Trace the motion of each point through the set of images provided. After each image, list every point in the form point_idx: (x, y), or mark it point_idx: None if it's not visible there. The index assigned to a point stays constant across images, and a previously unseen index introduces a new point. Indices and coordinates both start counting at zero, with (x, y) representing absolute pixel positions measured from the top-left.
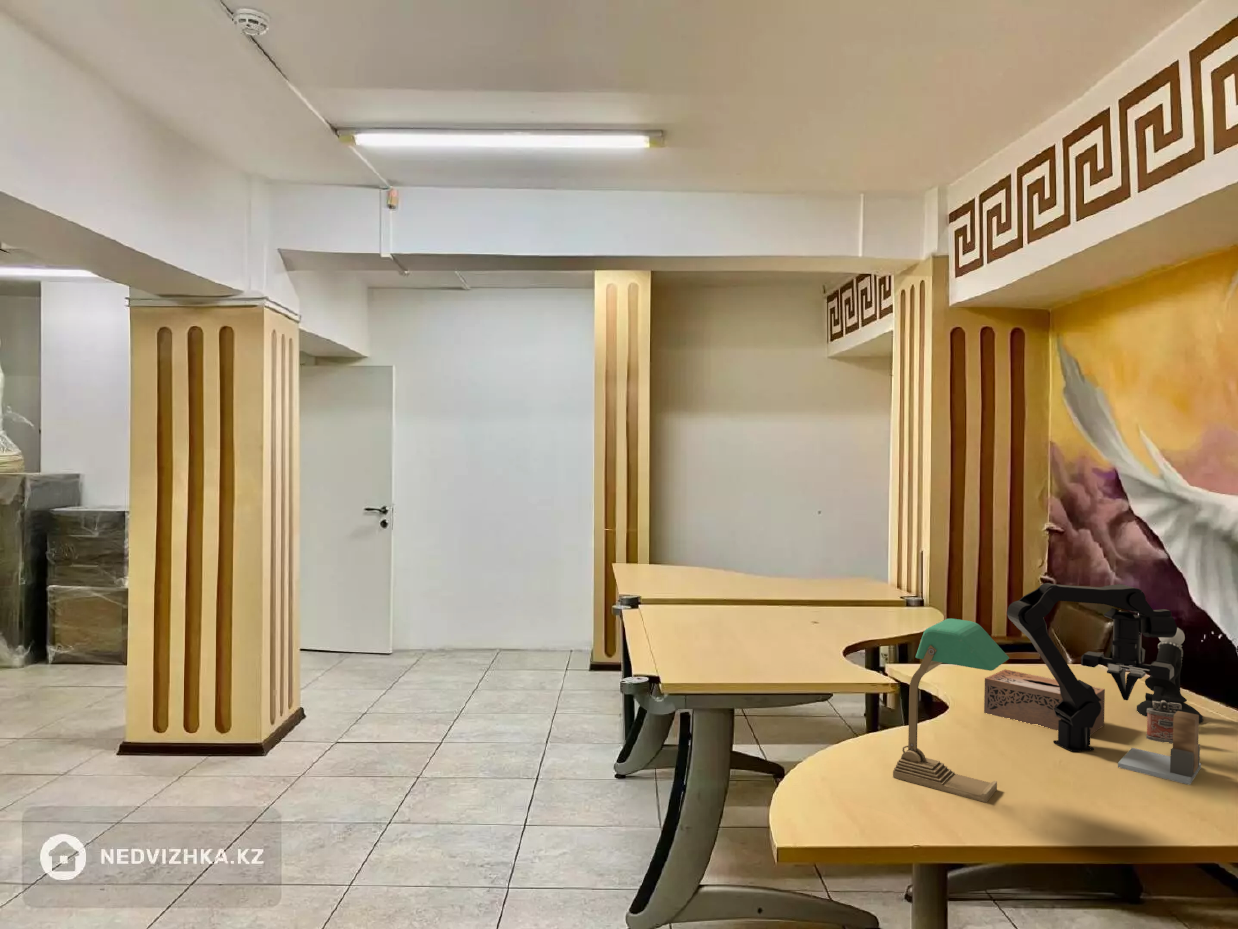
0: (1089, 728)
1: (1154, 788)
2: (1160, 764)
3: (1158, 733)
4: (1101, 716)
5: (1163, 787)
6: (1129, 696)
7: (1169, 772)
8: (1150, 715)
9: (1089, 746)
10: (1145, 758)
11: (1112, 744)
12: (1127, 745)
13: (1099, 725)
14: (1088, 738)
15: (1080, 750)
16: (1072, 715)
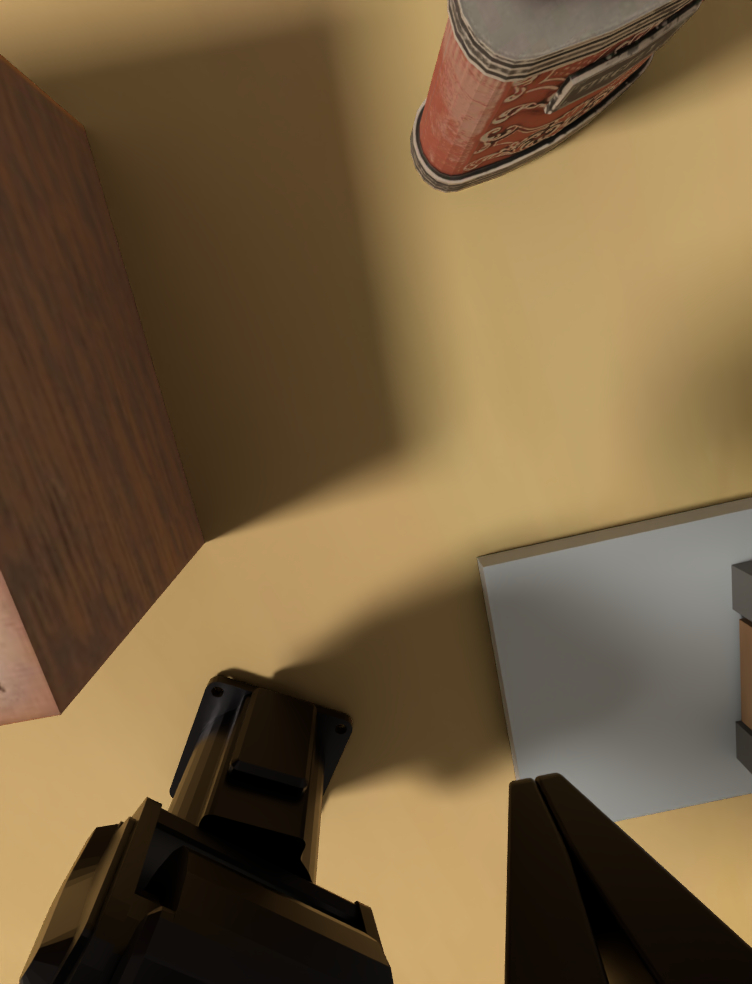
0: (301, 790)
1: (703, 898)
2: (676, 696)
3: (518, 145)
4: (56, 178)
5: (726, 864)
6: (595, 807)
7: (735, 762)
8: (501, 87)
9: (322, 720)
10: (597, 676)
11: (352, 526)
12: (411, 463)
13: (111, 257)
14: (313, 757)
15: (323, 793)
16: (158, 861)
